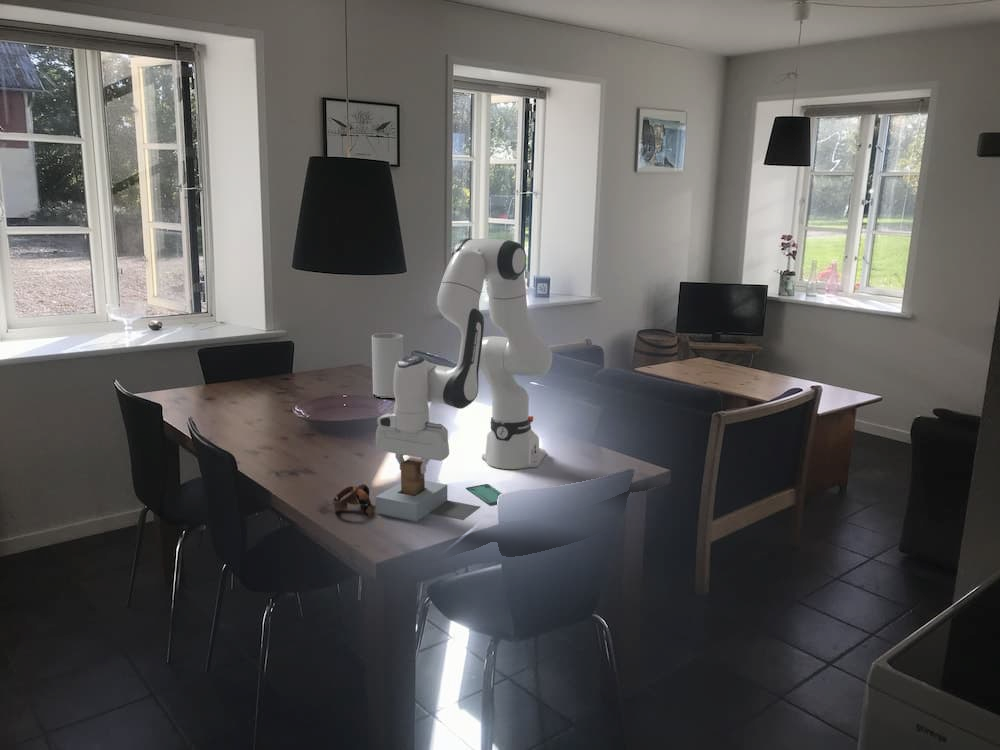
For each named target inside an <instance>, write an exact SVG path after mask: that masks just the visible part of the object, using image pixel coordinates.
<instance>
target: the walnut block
mask: <svg viewBox="0 0 1000 750" xmlns="http://www.w3.org/2000/svg"><path fill="white" fill-rule="evenodd" d="M422 463H423V462H422V461H421V458H418V457H409V458H407V459H406V460H405V461H404V462H402V463H401V470H400V483H401V494H406V495H411V496H416V495H418V494H419V493H421V492H423V491H424V490H425V481H426V479H425V473H424V474H421V473H418V466H420V465H422Z"/></svg>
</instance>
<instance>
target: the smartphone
mask: <svg viewBox="0 0 1000 750" xmlns="http://www.w3.org/2000/svg"><path fill="white" fill-rule="evenodd" d="M465 490H467V491H468V492H469V493H471V494H472V495H474V496H475V497H476V498H478V499H479V500H480V501H482V502H483V503H485V504H486V505H488V506H489V507H494V506H498V505H497V499H498V496H499V495H500V494H503V492H501V491H500V490H497V489H496V488H494V487H493V486H492V485H491V484H489V483H484V484H480V485H479V484H478V485H474V486H468V487H465Z"/></svg>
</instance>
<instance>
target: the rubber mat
mask: <svg viewBox="0 0 1000 750" xmlns="http://www.w3.org/2000/svg"><path fill="white" fill-rule="evenodd" d="M480 508H481V506H479V505H474V504H469V503H463V502H459V501H454V500H453V501H452V500H448V499H447V501H446V502H444V503H443V504H441V505H440V506H438V507H437V508H435V509H434V510H432V511H431V512H429V513H428V514H431V515H435V516H441V517H446V518H451V519H456V520H461V521H464V520H465V519H466V518H468V517H469V516H470V515H472V514H473V513H475V512H476V511H478V510H479V509H480Z"/></svg>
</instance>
